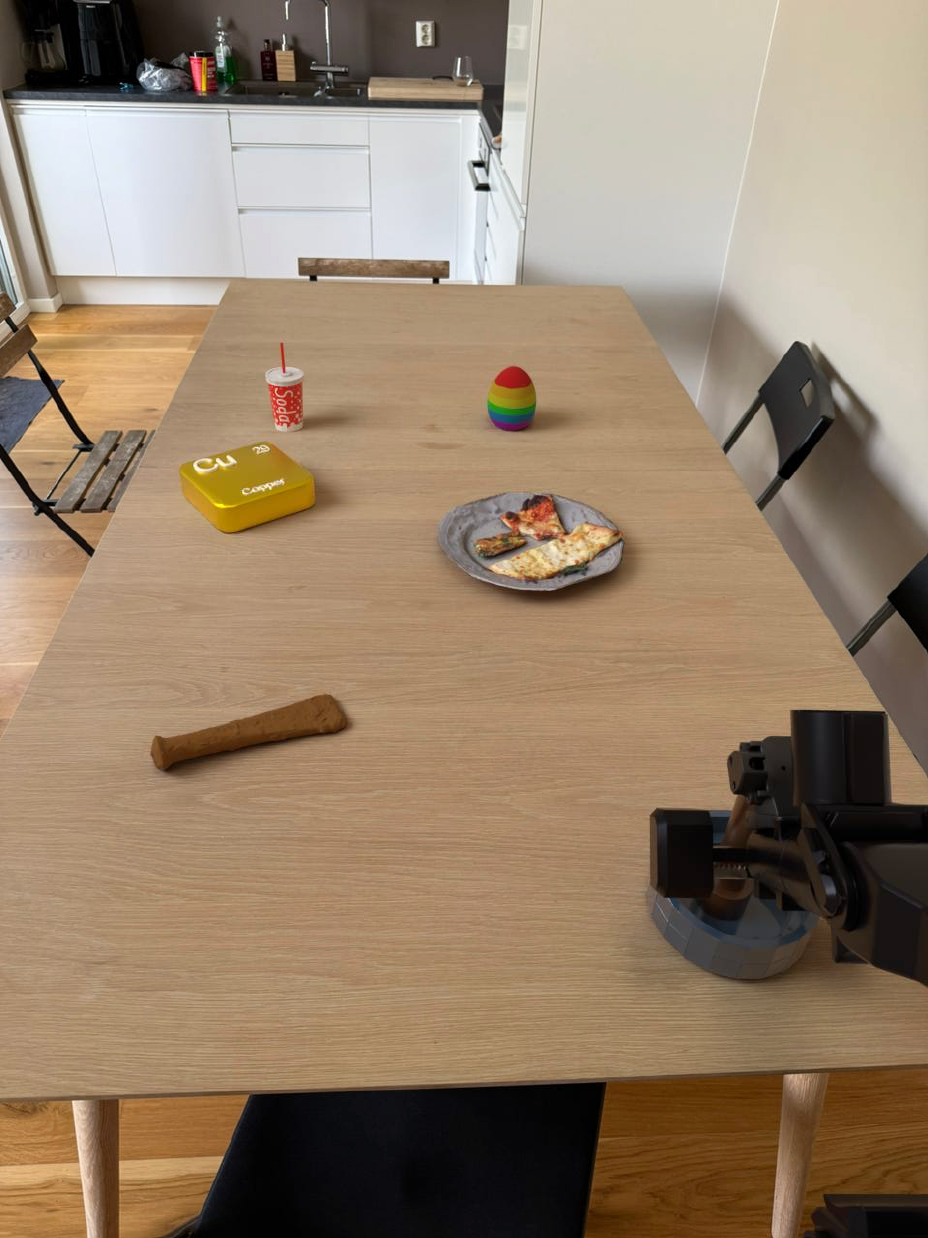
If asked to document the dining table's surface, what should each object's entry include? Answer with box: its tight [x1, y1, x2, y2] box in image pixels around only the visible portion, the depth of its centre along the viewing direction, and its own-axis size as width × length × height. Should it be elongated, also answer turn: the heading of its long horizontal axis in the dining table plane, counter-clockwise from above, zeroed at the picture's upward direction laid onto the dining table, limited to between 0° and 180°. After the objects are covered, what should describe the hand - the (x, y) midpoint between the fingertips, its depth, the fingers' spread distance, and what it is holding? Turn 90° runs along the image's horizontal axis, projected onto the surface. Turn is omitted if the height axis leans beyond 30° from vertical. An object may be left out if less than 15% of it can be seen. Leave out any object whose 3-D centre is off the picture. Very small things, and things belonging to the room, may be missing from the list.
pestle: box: [696, 795, 754, 920], centre depth 72 cm, size 4×4×14 cm
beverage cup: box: [264, 342, 305, 433], centre depth 143 cm, size 6×6×14 cm
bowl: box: [645, 809, 821, 980], centre depth 75 cm, size 14×14×5 cm
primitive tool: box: [149, 693, 348, 772], centre depth 89 cm, size 19×6×4 cm, turn 119°
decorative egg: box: [486, 365, 537, 431], centre depth 148 cm, size 8×8×10 cm
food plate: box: [436, 491, 626, 592], centre depth 119 cm, size 25×23×4 cm
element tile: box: [178, 441, 316, 534], centre depth 127 cm, size 15×15×5 cm
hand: (740, 840), depth 73 cm, fingers open, 9 cm apart
